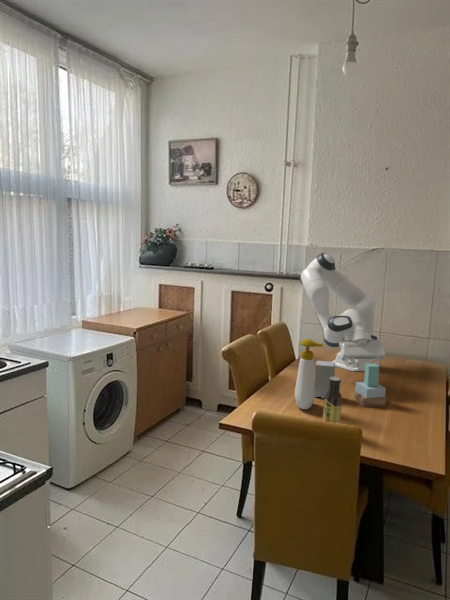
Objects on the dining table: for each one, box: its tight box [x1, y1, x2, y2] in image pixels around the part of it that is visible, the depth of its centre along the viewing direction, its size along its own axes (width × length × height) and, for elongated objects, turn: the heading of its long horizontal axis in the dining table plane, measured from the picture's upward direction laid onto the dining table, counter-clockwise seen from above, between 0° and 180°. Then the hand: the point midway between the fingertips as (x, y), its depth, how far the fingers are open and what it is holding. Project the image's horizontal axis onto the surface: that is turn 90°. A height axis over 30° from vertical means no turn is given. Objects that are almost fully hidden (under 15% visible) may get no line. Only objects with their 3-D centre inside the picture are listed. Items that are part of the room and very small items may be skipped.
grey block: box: [354, 381, 387, 398], centre depth 191 cm, size 9×9×4 cm
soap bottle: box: [294, 338, 324, 410], centre depth 181 cm, size 13×10×29 cm
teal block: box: [363, 363, 380, 387], centre depth 190 cm, size 4×4×9 cm
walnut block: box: [353, 389, 387, 407], centre depth 191 cm, size 10×10×4 cm
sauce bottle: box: [322, 376, 342, 423], centre depth 161 cm, size 6×6×20 cm
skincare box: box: [314, 360, 336, 399], centre depth 195 cm, size 8×7×16 cm
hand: (367, 366), depth 196 cm, fingers open, 8 cm apart
